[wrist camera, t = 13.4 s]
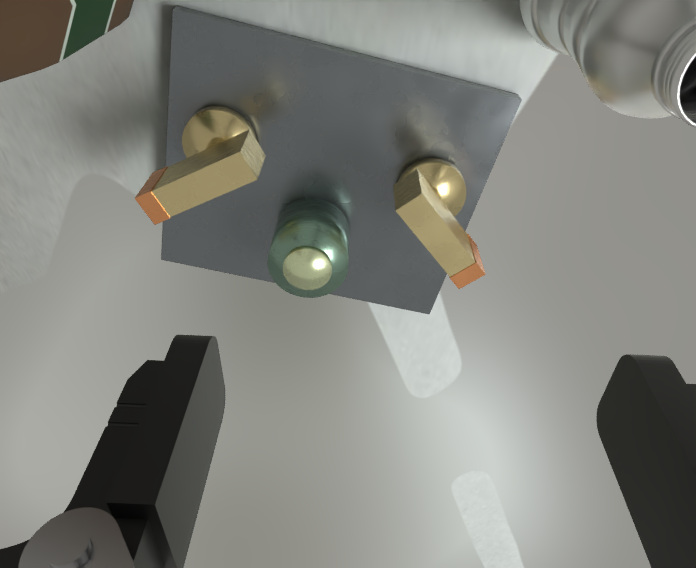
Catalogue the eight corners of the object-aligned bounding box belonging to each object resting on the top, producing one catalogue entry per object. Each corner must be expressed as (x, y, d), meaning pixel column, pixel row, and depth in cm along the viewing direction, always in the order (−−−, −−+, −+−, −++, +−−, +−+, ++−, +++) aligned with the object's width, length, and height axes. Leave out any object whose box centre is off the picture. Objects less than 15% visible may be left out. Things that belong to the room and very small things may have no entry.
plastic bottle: (545, 63, 38) (678, 201, 22) (490, -20, 35) (598, 69, 19) (634, -7, 35) (860, 93, 19) (584, -103, 32) (800, -80, 16)
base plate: (177, 5, 36) (144, 29, 31) (517, 94, 39) (542, 129, 34) (165, 251, 48) (139, 300, 43) (428, 305, 51) (435, 357, 46)
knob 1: (247, 86, 38) (225, 127, 32) (284, 152, 41) (270, 201, 35) (156, 131, 40) (118, 177, 34) (196, 190, 43) (168, 243, 37)
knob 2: (373, 172, 42) (375, 224, 35) (431, 131, 40) (444, 179, 33) (429, 241, 45) (439, 299, 39) (485, 207, 43) (505, 263, 37)
